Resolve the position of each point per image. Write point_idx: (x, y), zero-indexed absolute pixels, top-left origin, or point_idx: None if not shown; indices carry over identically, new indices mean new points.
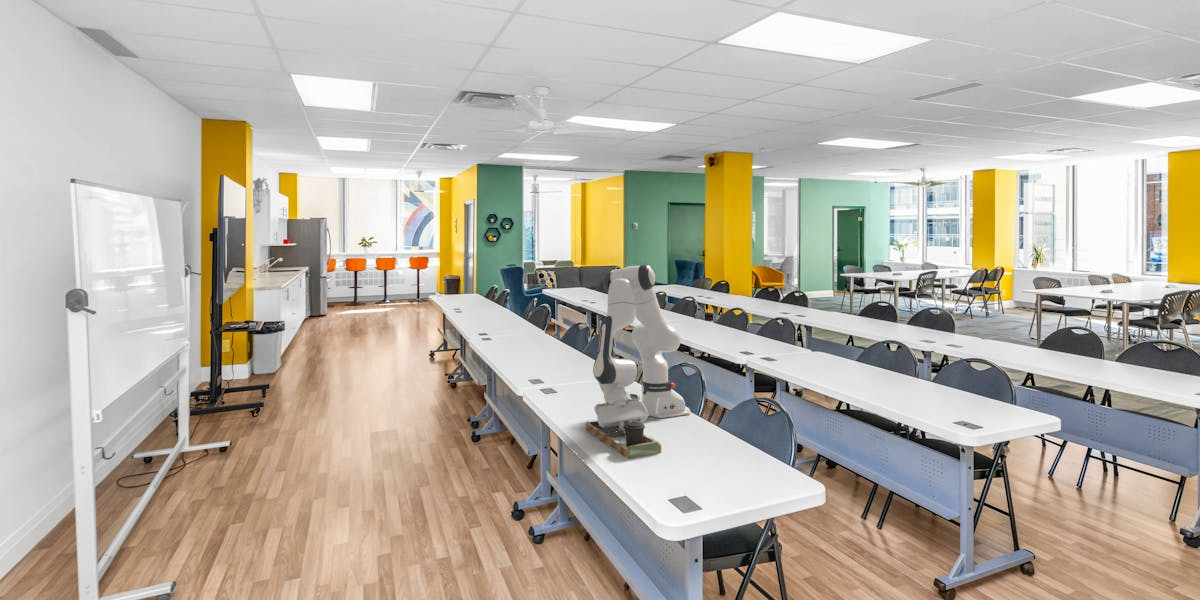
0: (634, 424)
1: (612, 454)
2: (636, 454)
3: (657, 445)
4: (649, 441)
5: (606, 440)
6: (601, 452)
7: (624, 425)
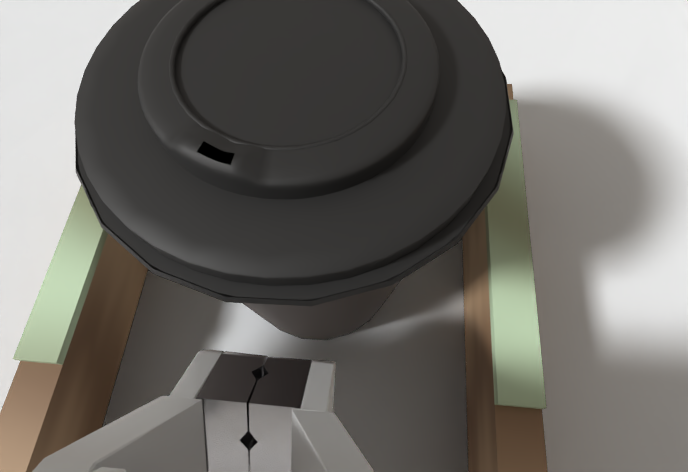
0: (293, 44)
1: (573, 273)
2: None
3: None
4: None
5: None
6: (671, 384)
7: (479, 159)
